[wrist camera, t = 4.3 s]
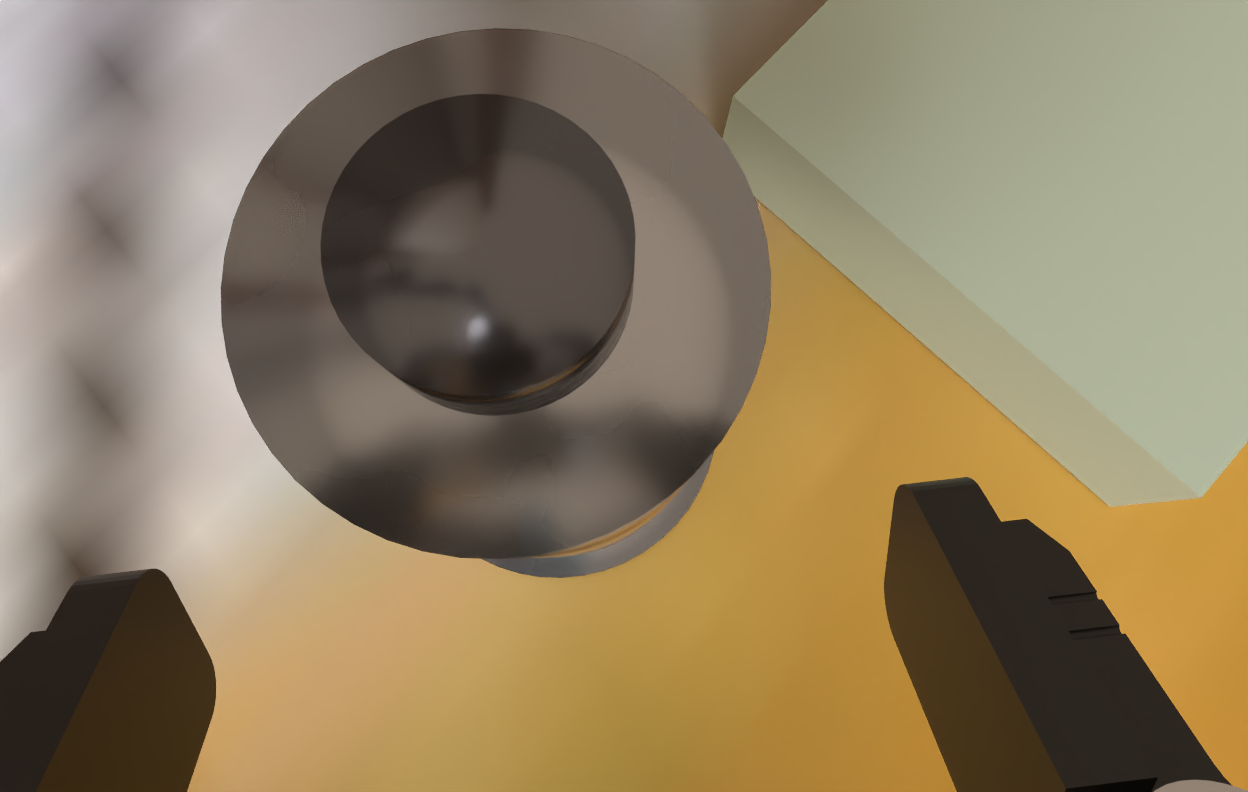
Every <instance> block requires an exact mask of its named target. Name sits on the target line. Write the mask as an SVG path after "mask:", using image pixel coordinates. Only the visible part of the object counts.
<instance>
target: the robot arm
mask: <svg viewBox="0 0 1248 792" xmlns="http://www.w3.org/2000/svg"><path fill="white" fill-rule="evenodd" d="M1096 592H1097V591H1096V590H1095V588H1094V587H1093V585H1092V584H1091V582H1090V581H1089V579H1088V578H1087V576H1086V575H1085V573H1084V572H1083V571H1082V569H1081V568H1080V566H1079V565H1078V563H1077V562H1076V560H1075V559H1074V557H1073V556H1072V554H1071V553H1070V551H1069V550H1067V549H1066V548H1065V547H1063V546H1062V545H1061V544H1059V543H1058V542H1057V541H1055V540H1054V539H1053V538H1051V537H1050V536H1049V535H1047V534H1046V533H1045V532H1043V531H1042V530H1041V529H1040V528H1038V527H1037V526H1036V525H1034V524H1033V523H1032V522H1030V521H1029V520H1028V519H1021V520H1013V521H1004V522H1001V521H1000V519H999V518H998V516H997V514H996V513H995V511H994V509H993V508H992V506H991V505H990V503H989V501H988V500H987V498H986V496H985V495H984V493H983V492H982V490H981V488H980V487H979V486H978V484H977V483H976V482H975V481H974V480H973V479H971V478H968V477H964V478H955V479H946V480H938V481H929V482H920V483H912V484H903V485H900V486H899V487H898V488H897V490H896V493H895V497H894V504H893V513H892V521H891V529H890V537H889V546H888V554H887V562H886V570H885V579H884V595H885V604H886V611H887V616H888V620H889V624H890V628H891V631H892V634H893V637H894V640H895V642H896V644H897V647H898V649H899V652H900V654H901V657H902V659H903V661H904V664H905V666H906V669H907V671H908V674H909V676H910V679H911V681H912V683H913V686H914V688H915V691H916V693H917V696H918V698H919V700H920V703H921V705H922V708H923V710H924V713H925V715H926V717H927V720H928V722H929V725H930V727H931V730H932V732H933V735H934V737H935V739H936V742H937V744H938V747H939V749H940V752H941V754H942V756H943V759H944V761H945V764H946V766H947V769H948V771H949V773H950V776H951V778H952V781H953V783H954V786H955V788H956V790H957V792H1248V791H1246V790H1243V789H1240V788H1237V787H1234V786H1232V785H1231V784H1230V783H1229V782H1228V781H1227V780H1226V779H1225V778H1224V776H1223V775H1222V774H1221V773H1220V771H1219V770H1218V769H1217V767H1216V766H1215V765H1214V763H1213V762H1212V761H1211V759H1210V758H1209V756H1208V755H1207V753H1206V752H1205V750H1204V749H1203V747H1202V746H1201V744H1200V743H1199V741H1198V740H1197V738H1196V737H1195V736H1194V734H1193V733H1192V731H1191V730H1190V728H1189V727H1188V725H1187V724H1186V722H1185V721H1184V719H1183V718H1182V716H1181V715H1180V713H1179V712H1178V710H1177V709H1176V708H1175V706H1174V705H1173V703H1172V702H1171V700H1170V699H1169V697H1168V696H1167V694H1166V693H1165V691H1164V690H1163V688H1162V687H1161V685H1160V684H1159V682H1158V681H1157V680H1156V678H1155V677H1154V675H1153V674H1152V672H1151V671H1150V669H1149V668H1148V666H1147V665H1146V663H1145V662H1144V660H1143V659H1142V657H1141V656H1140V655H1139V653H1138V652H1137V650H1136V649H1135V647H1134V646H1133V644H1132V643H1131V641H1130V640H1129V638H1128V637H1127V635H1126V634H1121V632H1120V629H1119V624H1118V622H1117V621H1116V619H1115V618H1114V616H1113V615H1112V613H1111V612H1110V610H1109V609H1108V607H1107V606H1106V604H1105V603H1104V601H1103V600H1102V599H1101V600H1099V599H1098V598H1097V595H1096ZM215 699H216V678H215V671H214V666H213V663H212V660H211V658H210V655H209V653H208V651H207V649H206V648H205V646H204V644H203V642H202V640H201V638H200V636H199V634H198V632H197V631H196V629H195V627H194V625H193V623H192V621H191V619H190V617H189V615H188V613H187V612H186V610H185V608H184V606H183V604H182V602H181V600H180V598H179V596H178V594H177V593H176V591H175V589H174V587H173V585H172V583H171V581H170V580H169V578H168V577H167V576H166V574H165V573H164V572H162V571H161V570H158V569H147V570H138V571H129V572H121V573H112V574H103V575H95V576H86V577H83V578H80V579H79V580H77V581H76V582H75V583H74V584H73V585H72V586H71V588H70V589H69V591H68V592H67V594H66V596H65V597H64V599H63V601H62V603H61V605H60V606H59V608H58V610H57V612H56V613H55V615H54V617H53V619H52V621H51V622H50V624H49V626H48V628H47V629H46V631H39V632H31V633H30V634H29V635H28V636H27V637H26V638H25V639H23V640H22V641H21V642H20V643H19V644H18V645H17V646H16V647H15V648H14V649H13V650H12V651H11V652H10V653H9V654H8V655H7V656H6V657H5V658H4V659H3V660H2V661H1V662H0V792H187V790H188V787H189V784H190V781H191V778H192V775H193V772H194V769H195V766H196V763H197V760H198V757H199V754H200V751H201V748H202V745H203V742H204V739H205V736H206V733H207V730H208V727H209V724H210V721H211V718H212V715H213V711H214V706H215Z"/></svg>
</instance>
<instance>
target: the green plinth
mask: <svg viewBox="0 0 1248 792" xmlns="http://www.w3.org/2000/svg"><path fill="white" fill-rule="evenodd" d="M723 140H724V141H725V142H726V144H727V145H728V147H729V148H730V150H731V152H732V154H733V155H734V157H735V159H736V160H737V162H738V164H739V166H740V167H741V169H742V171H743V172H744V174H745V176H746V179H747V181H748V184H749V186H750V188H751V191H752V193H753V196H755V197H756V198H757V199H758V200H759V201H760V202H761V203H763V204H764V205H765V206H766V207H767V208H768V209H769V210H771V211H772V212H773V213H774V214H775V215H776V216H777V217H779V218H780V219H781V220H782V221H783V222H784V223H785V224H787V225H788V226H789V227H790V228H791V229H792V230H793V231H795V232H796V233H797V234H798V235H799V236H800V237H801V238H803V239H804V240H805V241H806V242H807V243H808V244H809V245H811V246H812V247H813V248H814V249H815V250H816V251H817V252H819V253H820V254H821V255H822V256H823V257H824V258H825V259H827V260H828V261H829V262H830V263H831V264H832V265H834V266H835V267H836V268H837V269H838V270H839V271H840V272H842V273H843V274H844V275H845V276H846V277H847V278H848V279H850V280H851V281H852V282H853V283H854V284H855V285H856V286H858V287H859V288H860V289H861V290H862V291H863V292H864V293H866V294H867V295H868V296H869V297H870V298H871V299H872V300H874V301H875V302H876V303H877V304H878V305H879V306H880V307H882V308H883V309H884V310H885V311H886V312H887V313H888V314H890V315H891V316H892V317H893V318H894V319H895V320H896V321H898V322H899V323H900V324H901V325H902V326H903V327H904V328H906V329H907V330H908V331H909V332H910V333H911V334H912V335H914V336H915V337H916V338H917V339H918V340H919V341H921V342H922V343H923V344H924V345H925V346H926V347H927V348H929V349H930V350H931V351H932V352H933V353H934V354H935V355H937V356H938V357H939V358H940V359H941V360H942V361H943V362H945V363H946V364H947V365H948V366H949V367H950V368H951V369H953V370H954V371H955V372H956V373H957V374H958V375H959V376H961V377H962V378H963V379H964V380H965V381H966V382H967V383H969V384H970V385H971V386H972V387H973V388H974V389H975V390H977V391H978V392H979V393H980V394H981V395H982V396H983V397H985V398H986V399H987V400H988V401H989V402H990V403H991V404H993V405H994V406H995V407H996V408H997V409H998V410H1000V411H1001V412H1002V413H1003V414H1004V415H1005V416H1006V417H1008V418H1009V419H1010V420H1011V421H1012V422H1013V423H1014V424H1016V425H1017V426H1018V427H1019V428H1020V429H1021V430H1022V431H1024V432H1025V433H1026V434H1027V435H1028V436H1029V437H1030V438H1032V439H1033V440H1034V441H1035V442H1036V443H1037V444H1038V445H1040V446H1041V447H1042V448H1043V449H1044V450H1045V451H1046V452H1048V453H1049V454H1050V455H1051V456H1052V457H1053V458H1054V459H1056V460H1057V461H1058V462H1059V463H1060V464H1061V465H1062V466H1064V467H1065V468H1066V469H1067V470H1068V471H1069V472H1070V473H1072V474H1073V475H1074V476H1075V477H1076V478H1077V479H1078V480H1080V481H1081V482H1082V483H1083V484H1084V485H1085V486H1087V487H1088V488H1089V489H1090V490H1091V491H1092V492H1093V493H1095V494H1096V495H1097V496H1098V497H1099V498H1100V499H1101V500H1103V501H1104V502H1105V503H1106V504H1107V505H1108V506H1109V507H1114V506H1124V505H1134V504H1144V503H1155V502H1165V501H1175V500H1185V499H1196V498H1201V497H1202V496H1203V495H1204V494H1205V492H1206V491H1207V490H1208V489H1209V488H1210V486H1211V485H1212V484H1213V483H1214V481H1215V480H1216V479H1217V478H1218V477H1219V475H1220V474H1221V473H1222V472H1223V471H1224V469H1225V468H1226V467H1227V466H1228V465H1229V463H1230V462H1231V461H1232V460H1233V459H1234V457H1235V456H1236V455H1237V454H1238V452H1239V451H1240V450H1241V449H1242V448H1243V446H1244V445H1245V444H1246V443H1247V442H1248V0H828V1H827V2H826V3H825V4H824V5H823V6H822V7H821V8H820V9H819V10H818V11H817V12H816V13H815V14H814V15H813V16H812V17H811V18H810V19H809V20H808V21H807V22H806V23H805V24H804V25H803V26H802V27H801V28H800V29H799V30H798V31H797V32H796V33H795V34H794V35H793V36H792V37H791V38H790V39H789V40H788V41H787V42H786V43H785V44H784V45H783V46H782V47H781V48H780V49H779V50H778V51H777V52H776V53H775V54H774V55H773V56H772V57H771V58H770V59H769V60H768V61H767V62H766V63H765V64H764V65H763V66H762V67H761V68H760V69H759V70H758V71H757V72H756V73H755V74H754V75H753V76H752V77H751V78H750V79H749V80H748V81H747V82H746V83H745V84H744V85H743V86H742V87H741V88H740V89H739V90H738V91H737V92H736V93H735V94H734V95H733V97H732V101H731V106H730V110H729V114H728V118H727V122H726V126H725V130H724V134H723Z"/></svg>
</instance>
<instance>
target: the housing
mask: <svg viewBox="0 0 1248 792" xmlns="http://www.w3.org/2000/svg"><path fill="white" fill-rule="evenodd" d="M770 307H771V270H770V262H769V254H768V246H767V239H766V235H765V231H764V227H763V223H762V220H761V216H760V212H759V209H758V205H757V203H756V200H755V198H754V196H753V193H752V191H751V188H750V186H749V184H748V181H747V179H746V176H745V174H744V172H743V171H742V169H741V167H740V166H739V164H738V162H737V160H736V159H735V157H734V155H733V154H732V152H731V150H730V148H729V147H728V145H727V144H726V142H725V141H724V140H723V139H722V137H721V136H720V135H719V133H718V132H717V131H716V130H715V128H714V127H713V126H712V124H711V123H710V122H709V121H708V119H707V118H706V117H705V116H704V115H703V114H702V113H701V112H700V111H699V110H698V109H697V108H696V107H695V106H694V105H693V104H692V103H691V102H690V101H689V100H688V99H687V98H686V97H685V96H684V95H683V94H681V93H680V92H679V91H677V90H676V89H675V88H673V87H672V86H671V85H669V84H668V83H667V82H665V81H664V80H663V79H661V78H660V77H659V76H658V75H656V74H655V73H653V72H651V71H649V70H648V69H646V68H644V67H642V66H641V65H639V64H637V63H636V62H634V61H632V60H630V59H629V58H627V57H625V56H622V55H620V54H618V53H615V52H613V51H610V50H608V49H606V48H603V47H601V46H599V45H596V44H593V43H589V42H586V41H582V40H579V39H575V38H572V37H568V36H565V35H560V34H553V33H547V32H541V31H534V30H523V29H484V30H472V31H461V32H456V33H451V34H446V35H442V36H437V37H432V38H427V39H424V40H421V41H418V42H415V43H412V44H409V45H406V46H403V47H400V48H397V49H395V50H392V51H390V52H388V53H386V54H384V55H382V56H380V57H378V58H376V59H374V60H371V61H369V62H367V63H365V64H363V65H362V66H360V67H358V68H357V69H355V70H354V71H352V72H350V73H349V74H347V75H346V76H344V77H343V78H341V79H339V80H338V81H336V82H335V83H333V84H332V85H331V86H330V87H329V88H327V89H326V90H325V91H324V92H322V93H321V94H320V95H319V96H318V97H316V98H315V99H314V100H313V101H311V102H310V103H309V104H308V105H307V106H306V107H305V108H304V109H303V110H302V111H301V112H300V113H299V114H298V115H297V116H296V117H295V118H294V119H293V120H292V122H291V123H290V124H289V125H288V126H287V127H286V128H285V129H284V130H283V131H282V133H281V134H280V135H279V137H278V138H277V139H276V141H275V142H274V144H273V145H272V146H271V148H270V149H269V150H268V152H267V153H266V154H265V156H264V157H263V159H262V160H261V162H260V164H259V166H258V168H257V169H256V171H255V173H254V175H253V177H252V178H251V180H250V182H249V184H248V186H247V187H246V190H245V192H244V195H243V197H242V200H241V202H240V205H239V207H238V210H237V212H236V215H235V217H234V220H233V224H232V228H231V232H230V235H229V239H228V243H227V247H226V251H225V257H224V266H223V275H222V283H221V314H222V328H223V334H224V340H225V347H226V353H227V358H228V362H229V365H230V368H231V371H232V375H233V378H234V381H235V384H236V388H237V391H238V393H239V395H240V397H241V400H242V402H243V404H244V406H245V408H246V410H247V412H248V415H249V417H250V419H251V421H252V423H253V425H254V426H255V428H256V429H257V431H258V432H259V434H260V435H261V437H262V439H263V440H264V442H265V443H266V445H267V446H268V448H269V449H270V451H271V452H272V454H273V455H274V456H275V457H276V458H277V459H278V461H279V462H280V463H281V464H282V465H283V466H284V468H285V469H286V470H287V471H288V472H289V473H290V474H291V476H292V477H293V478H294V479H295V480H296V481H297V482H298V483H299V484H300V485H302V486H303V487H304V488H305V489H306V490H307V491H309V492H310V493H311V494H312V495H313V496H314V497H315V498H317V499H318V500H319V501H320V502H321V503H322V504H324V505H325V506H327V507H328V508H330V509H331V510H333V511H334V512H336V513H337V514H339V515H340V516H342V517H344V518H345V519H347V520H348V521H350V522H351V523H353V524H354V525H357V526H359V527H361V528H363V529H365V530H367V531H369V532H371V533H373V534H376V535H378V536H380V537H382V538H384V539H386V540H389V541H392V542H395V543H398V544H401V545H405V546H408V547H411V548H414V549H417V550H421V551H424V552H430V553H436V554H442V555H448V556H453V557H459V558H481V559H483V560H485V561H487V562H489V563H492V564H494V565H496V566H498V567H501V568H504V569H507V570H510V571H513V572H517V573H521V574H526V575H532V576H538V577H558V578H562V577H573V576H583V575H587V574H591V573H596V572H600V571H604V570H607V569H609V568H612V567H615V566H617V565H620V564H622V563H625V562H626V561H628V560H630V559H632V558H634V557H636V556H638V555H639V554H641V553H643V552H644V551H646V550H647V549H648V548H650V547H651V546H653V545H654V544H655V543H657V542H658V541H660V540H661V539H662V538H663V537H664V536H665V535H666V534H667V533H668V532H669V531H670V530H671V529H672V528H673V527H674V526H675V525H676V524H677V523H678V522H679V520H680V519H681V518H682V517H683V515H684V514H685V513H686V512H687V510H688V509H689V507H690V506H691V504H692V503H693V501H694V499H695V498H696V496H697V494H698V493H699V491H700V489H701V486H702V484H703V482H704V480H705V477H706V475H707V473H708V470H709V466H710V463H711V459H712V456H713V453H714V449H715V448H716V447H717V446H718V444H719V443H720V442H721V441H722V439H723V438H724V436H725V435H726V433H727V431H728V430H729V428H730V426H731V425H732V423H733V421H734V420H735V418H736V417H737V415H738V413H739V412H740V410H741V408H742V406H743V404H744V401H745V399H746V397H747V395H748V392H749V390H750V388H751V385H752V383H753V381H754V379H755V376H756V373H757V370H758V366H759V363H760V359H761V356H762V352H763V349H764V345H765V342H766V335H767V328H768V321H769V314H770Z"/></svg>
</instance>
